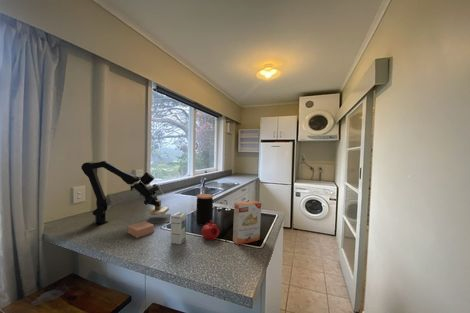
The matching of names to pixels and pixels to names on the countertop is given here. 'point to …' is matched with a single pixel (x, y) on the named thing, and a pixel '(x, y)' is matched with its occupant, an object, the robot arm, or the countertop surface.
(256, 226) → the cracker box
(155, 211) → the lid
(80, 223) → the countertop surface
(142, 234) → the storage box
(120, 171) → the robot arm
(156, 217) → the mat
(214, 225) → the pomegranate
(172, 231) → the syrup box
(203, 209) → the coffee jar
